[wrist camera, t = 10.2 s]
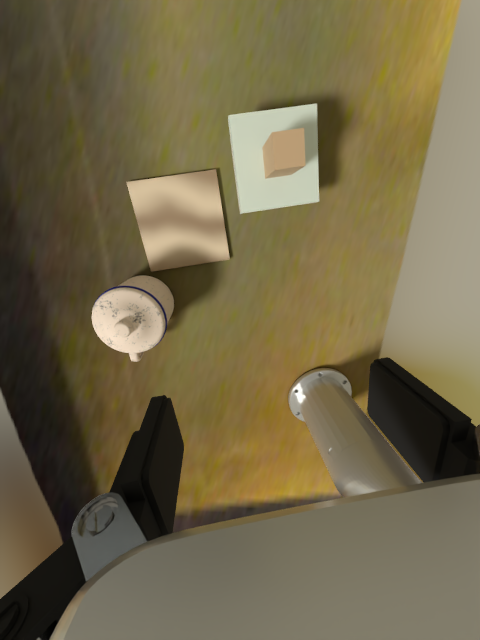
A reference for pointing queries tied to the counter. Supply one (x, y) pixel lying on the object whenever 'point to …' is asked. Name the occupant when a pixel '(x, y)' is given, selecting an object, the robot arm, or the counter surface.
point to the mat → (180, 219)
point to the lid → (275, 157)
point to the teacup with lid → (133, 315)
